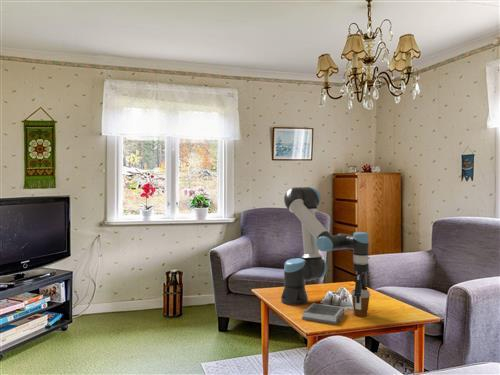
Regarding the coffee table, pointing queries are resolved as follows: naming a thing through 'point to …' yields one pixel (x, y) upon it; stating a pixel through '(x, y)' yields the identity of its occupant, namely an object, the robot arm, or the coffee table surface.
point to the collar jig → (323, 313)
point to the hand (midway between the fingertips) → (360, 305)
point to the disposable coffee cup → (364, 303)
